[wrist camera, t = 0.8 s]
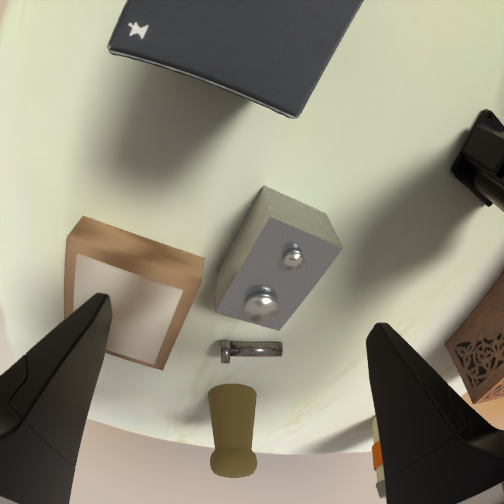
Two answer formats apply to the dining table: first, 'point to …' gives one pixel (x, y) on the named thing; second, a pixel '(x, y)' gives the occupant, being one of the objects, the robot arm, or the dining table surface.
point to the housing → (275, 260)
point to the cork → (232, 430)
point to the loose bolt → (249, 350)
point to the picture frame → (132, 287)
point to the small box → (239, 43)
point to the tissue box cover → (482, 347)
